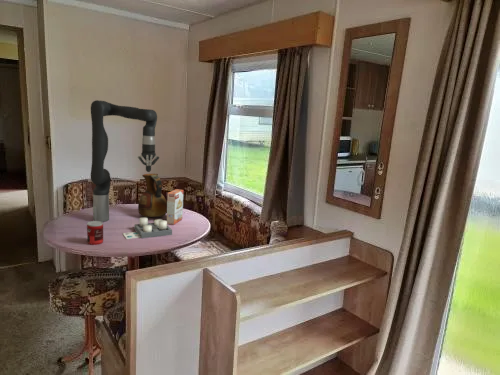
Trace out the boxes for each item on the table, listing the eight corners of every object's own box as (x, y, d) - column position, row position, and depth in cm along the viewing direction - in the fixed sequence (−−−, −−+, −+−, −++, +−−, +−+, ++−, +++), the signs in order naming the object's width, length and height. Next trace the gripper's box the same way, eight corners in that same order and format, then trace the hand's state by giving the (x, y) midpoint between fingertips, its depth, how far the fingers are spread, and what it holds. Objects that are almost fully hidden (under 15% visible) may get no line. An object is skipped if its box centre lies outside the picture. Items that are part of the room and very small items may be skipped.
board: (141, 238, 201) (141, 233, 200) (134, 229, 215) (134, 224, 214) (172, 234, 210) (172, 229, 210) (163, 226, 224) (163, 221, 224)
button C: (144, 235, 203) (144, 227, 202) (142, 232, 207) (142, 225, 206) (152, 234, 206) (152, 226, 205) (150, 231, 210) (150, 224, 209)
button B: (155, 229, 215) (155, 221, 214) (153, 226, 219) (153, 219, 218) (163, 228, 218) (163, 221, 217) (160, 225, 222) (161, 218, 221)
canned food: (90, 239, 194) (89, 220, 191) (105, 240, 194) (105, 221, 192) (85, 244, 186) (84, 224, 184) (100, 245, 187) (100, 225, 185)
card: (126, 239, 198) (126, 238, 198) (123, 234, 206) (123, 233, 205) (142, 237, 203) (142, 236, 203) (138, 232, 210) (138, 231, 210)
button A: (140, 227, 210) (140, 219, 209) (138, 224, 214) (138, 217, 213) (148, 226, 213) (148, 219, 212) (146, 224, 217) (146, 217, 216)
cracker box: (174, 225, 228) (175, 193, 224) (166, 224, 229) (166, 192, 225) (183, 219, 242) (184, 189, 237) (174, 218, 243) (175, 188, 238)
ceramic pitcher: (154, 210, 257) (155, 170, 251) (173, 216, 246) (174, 174, 240) (132, 215, 241) (132, 172, 235) (151, 222, 230) (151, 177, 224)
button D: (159, 230, 207) (160, 222, 206) (157, 227, 211) (157, 220, 210) (167, 229, 210) (168, 222, 209) (165, 227, 214) (165, 219, 213)
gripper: (157, 142, 218) (157, 170, 222) (136, 142, 211) (135, 170, 215) (161, 144, 212) (160, 172, 215) (139, 143, 205) (138, 173, 209)
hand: (148, 171), depth 215 cm, fingers closed
